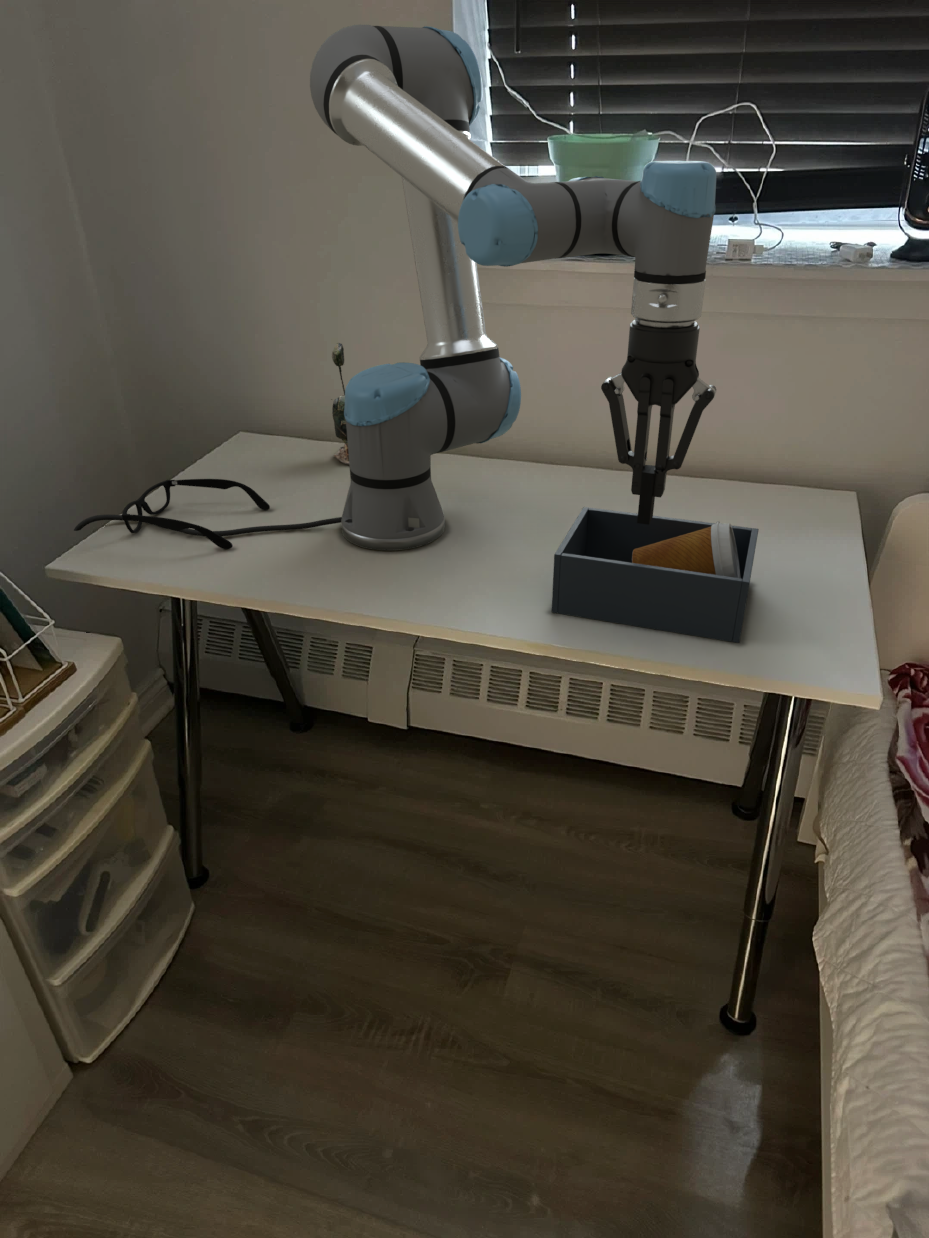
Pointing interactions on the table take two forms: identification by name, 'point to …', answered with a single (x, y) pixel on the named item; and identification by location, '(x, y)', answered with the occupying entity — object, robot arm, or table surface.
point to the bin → (647, 577)
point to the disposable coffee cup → (695, 552)
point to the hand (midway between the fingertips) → (644, 519)
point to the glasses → (182, 525)
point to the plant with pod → (340, 408)
